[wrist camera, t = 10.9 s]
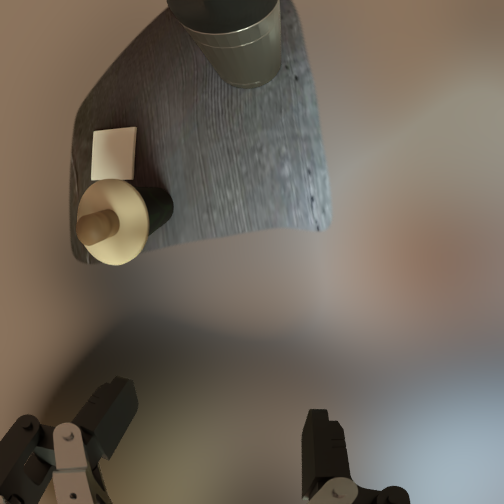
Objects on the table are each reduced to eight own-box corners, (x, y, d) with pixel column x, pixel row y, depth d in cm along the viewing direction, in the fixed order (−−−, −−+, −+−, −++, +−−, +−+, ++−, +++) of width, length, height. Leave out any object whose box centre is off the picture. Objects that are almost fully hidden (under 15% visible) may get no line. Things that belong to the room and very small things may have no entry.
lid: (80, 179, 28) (53, 182, 23) (150, 178, 27) (126, 180, 22) (83, 257, 30) (59, 270, 26) (150, 267, 29) (129, 284, 25)
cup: (155, 242, 41) (114, 267, 30) (125, 204, 40) (77, 217, 29) (190, 209, 40) (155, 225, 28) (158, 170, 38) (114, 171, 27)
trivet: (95, 131, 38) (93, 131, 37) (136, 127, 37) (135, 126, 36) (93, 179, 40) (91, 180, 39) (133, 179, 39) (131, 179, 39)
